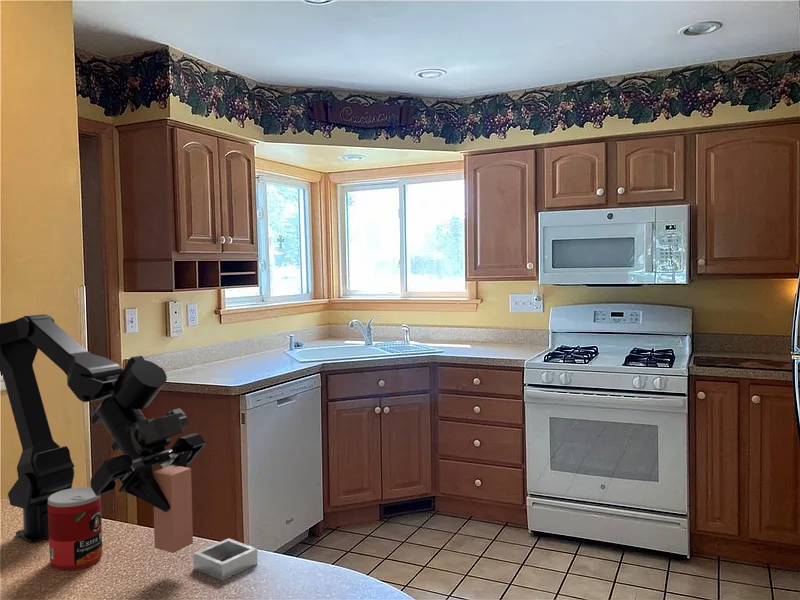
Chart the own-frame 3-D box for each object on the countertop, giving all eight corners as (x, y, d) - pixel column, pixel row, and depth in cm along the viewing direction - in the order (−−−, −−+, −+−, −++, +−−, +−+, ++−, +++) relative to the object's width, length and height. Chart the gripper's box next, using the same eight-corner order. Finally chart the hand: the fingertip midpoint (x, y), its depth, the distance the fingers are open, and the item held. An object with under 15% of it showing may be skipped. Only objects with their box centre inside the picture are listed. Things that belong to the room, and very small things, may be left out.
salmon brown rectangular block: (154, 547, 102) (152, 471, 101) (174, 538, 105) (172, 464, 105) (173, 553, 100) (171, 475, 99) (192, 543, 103) (191, 468, 103)
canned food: (82, 573, 103) (79, 504, 102) (38, 569, 104) (35, 501, 104) (113, 552, 110) (111, 488, 110) (71, 548, 112) (69, 485, 111)
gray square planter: (193, 568, 104) (193, 553, 104) (229, 552, 110) (228, 538, 109) (222, 580, 100) (221, 564, 100) (257, 563, 105) (257, 548, 105)
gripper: (100, 406, 95) (156, 494, 90) (196, 385, 111) (247, 458, 107) (67, 453, 99) (118, 538, 95) (165, 426, 116) (212, 498, 111)
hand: (179, 505), depth 102 cm, fingers closed on salmon brown rectangular block, 4 cm apart
